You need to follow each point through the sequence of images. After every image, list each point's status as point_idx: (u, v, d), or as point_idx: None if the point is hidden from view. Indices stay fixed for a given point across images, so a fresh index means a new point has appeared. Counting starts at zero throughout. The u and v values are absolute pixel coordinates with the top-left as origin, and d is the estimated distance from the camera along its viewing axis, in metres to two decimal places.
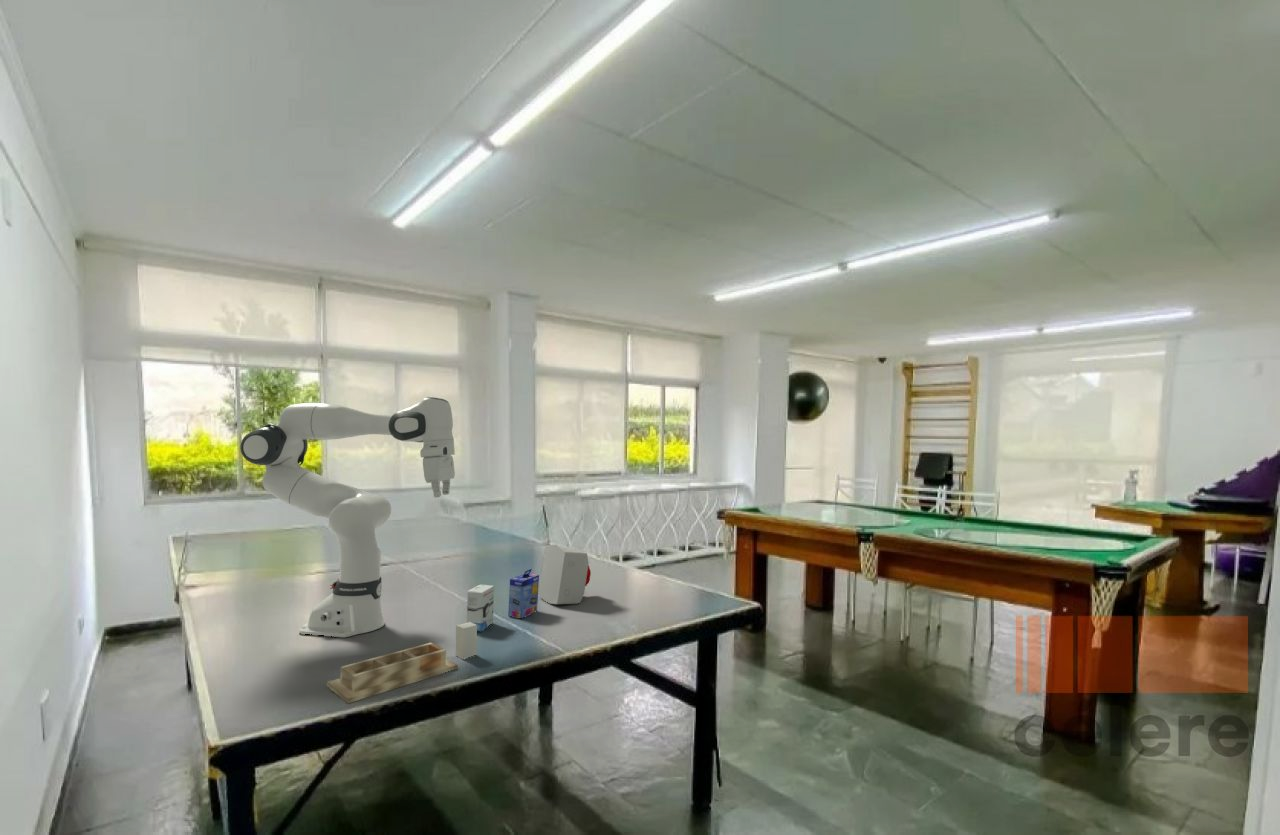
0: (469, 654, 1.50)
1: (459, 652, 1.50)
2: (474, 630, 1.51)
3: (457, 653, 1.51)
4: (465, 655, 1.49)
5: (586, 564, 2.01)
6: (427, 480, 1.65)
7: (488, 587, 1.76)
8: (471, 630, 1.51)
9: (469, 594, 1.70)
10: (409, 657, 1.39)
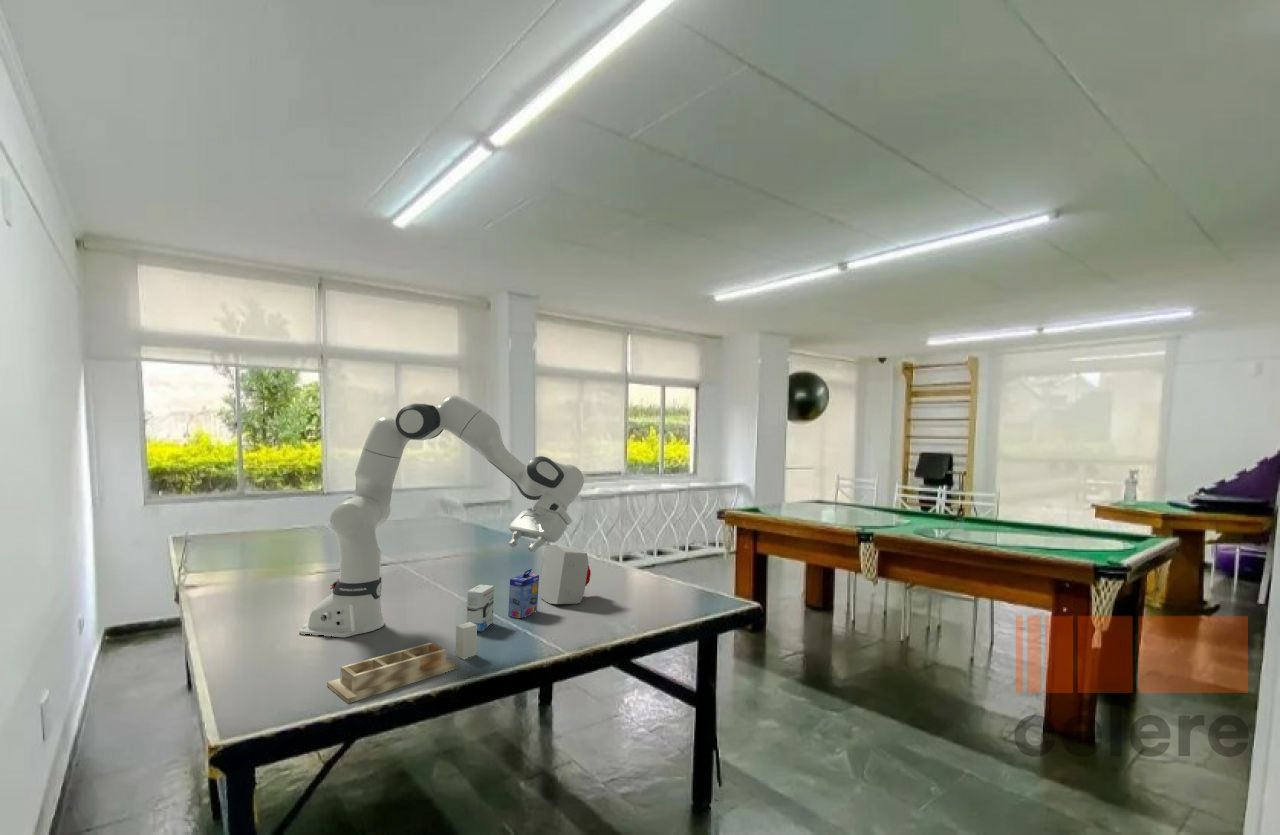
0: (469, 654, 1.50)
1: (459, 652, 1.50)
2: (474, 630, 1.51)
3: (457, 653, 1.51)
4: (465, 655, 1.49)
5: (586, 564, 2.01)
6: (551, 535, 1.62)
7: (488, 587, 1.76)
8: (471, 630, 1.51)
9: (469, 594, 1.70)
10: (409, 657, 1.39)
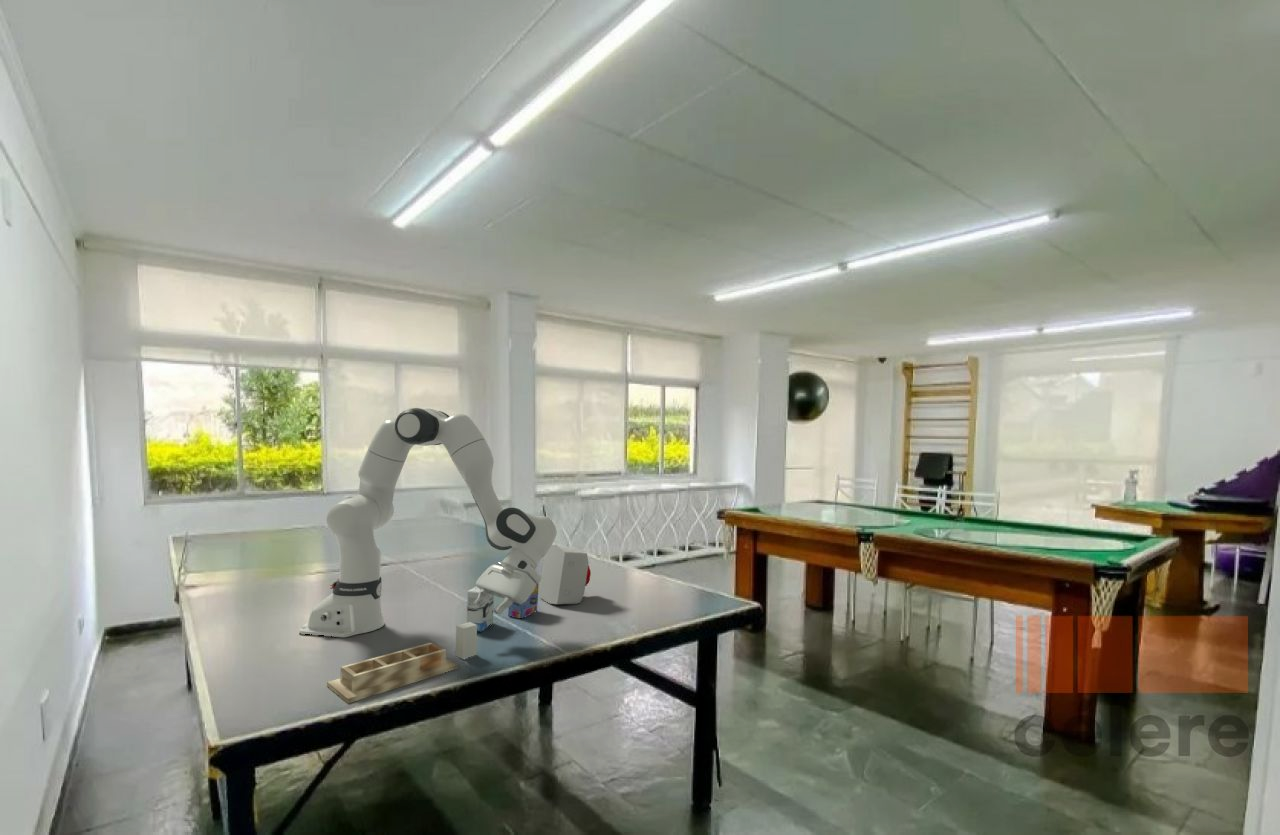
0: (469, 654, 1.50)
1: (459, 652, 1.50)
2: (474, 630, 1.51)
3: (457, 653, 1.51)
4: (465, 655, 1.49)
5: (586, 564, 2.01)
6: (518, 597, 1.52)
7: None
8: (471, 630, 1.51)
9: (469, 594, 1.70)
10: (409, 657, 1.39)
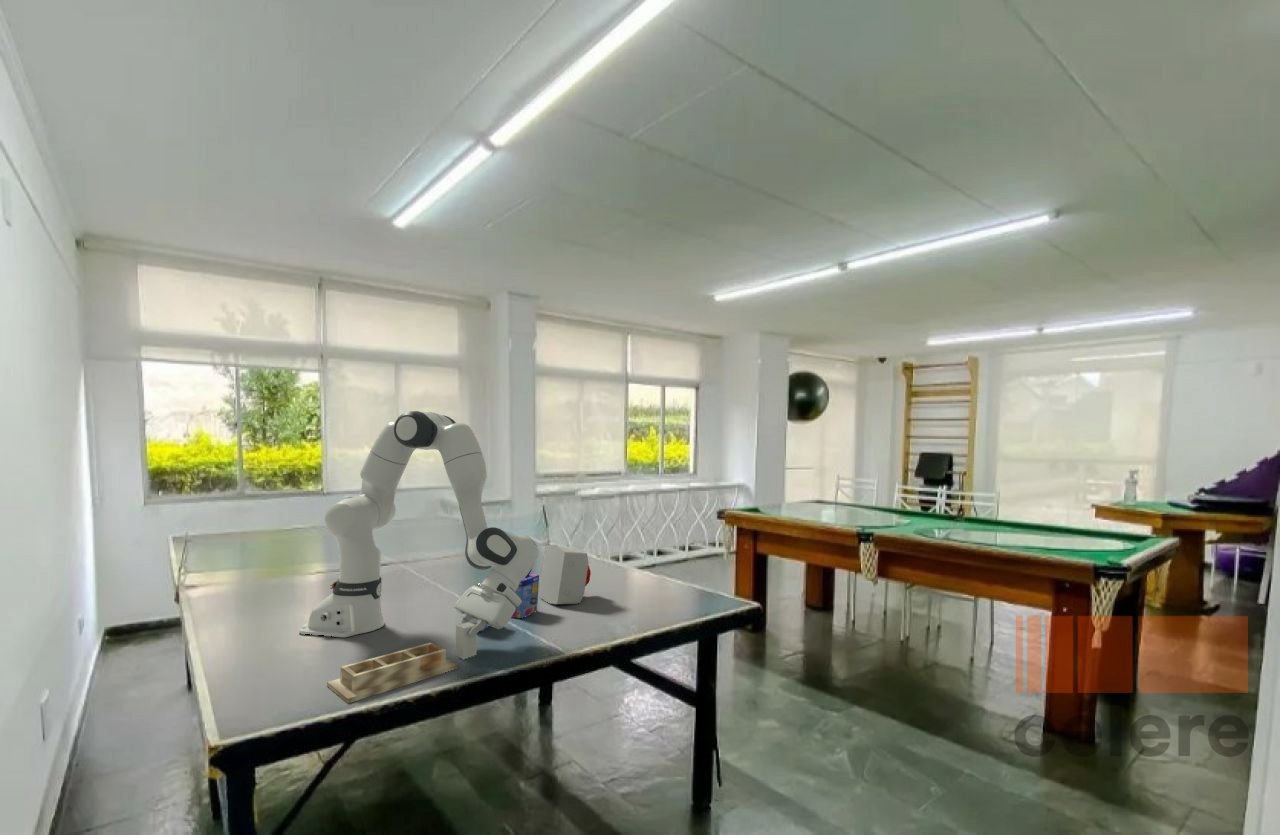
0: (469, 654, 1.50)
1: (459, 652, 1.50)
2: None
3: (457, 653, 1.51)
4: (465, 655, 1.49)
5: (586, 564, 2.01)
6: (496, 622, 1.47)
7: None
8: None
9: None
10: (409, 657, 1.39)
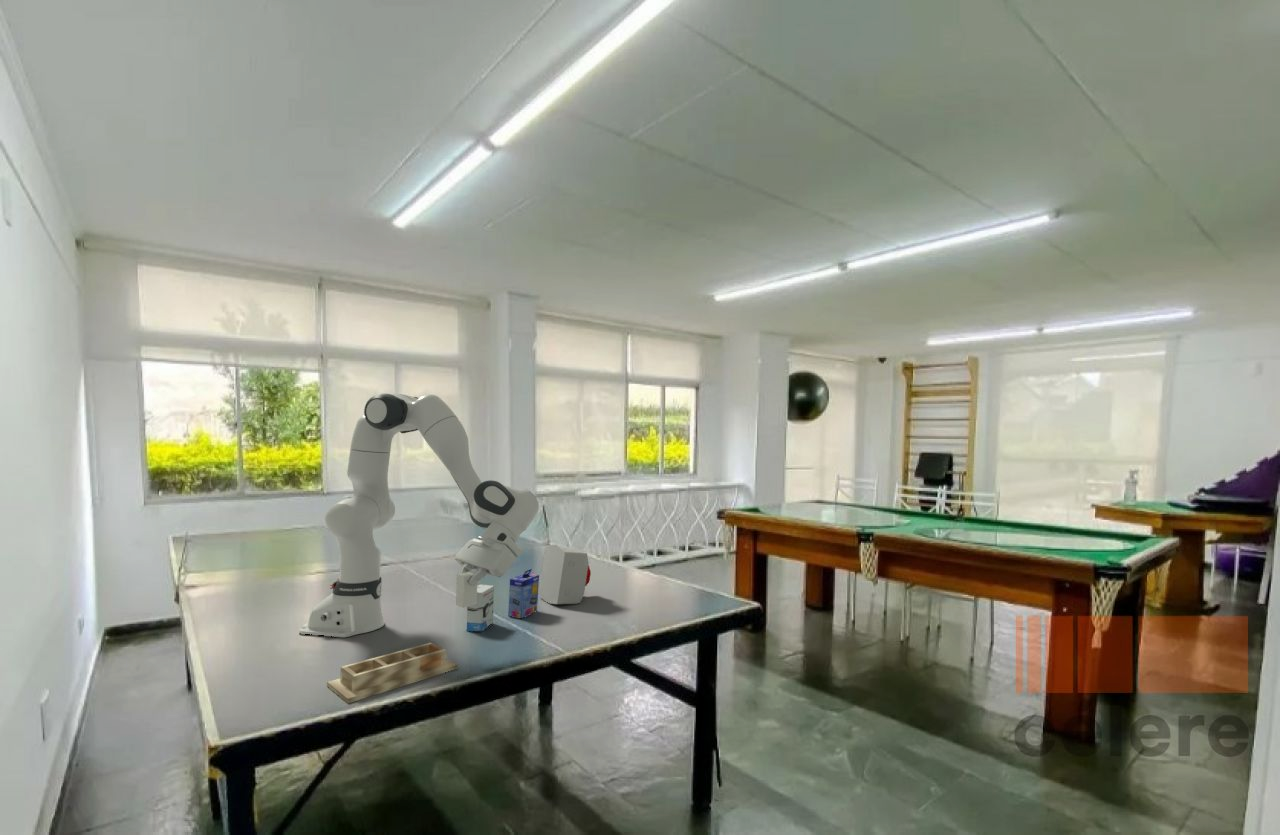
0: (469, 602, 1.51)
1: (460, 600, 1.50)
2: None
3: (458, 601, 1.51)
4: (465, 603, 1.50)
5: (586, 564, 2.01)
6: (496, 569, 1.47)
7: (488, 587, 1.76)
8: None
9: None
10: (409, 657, 1.39)
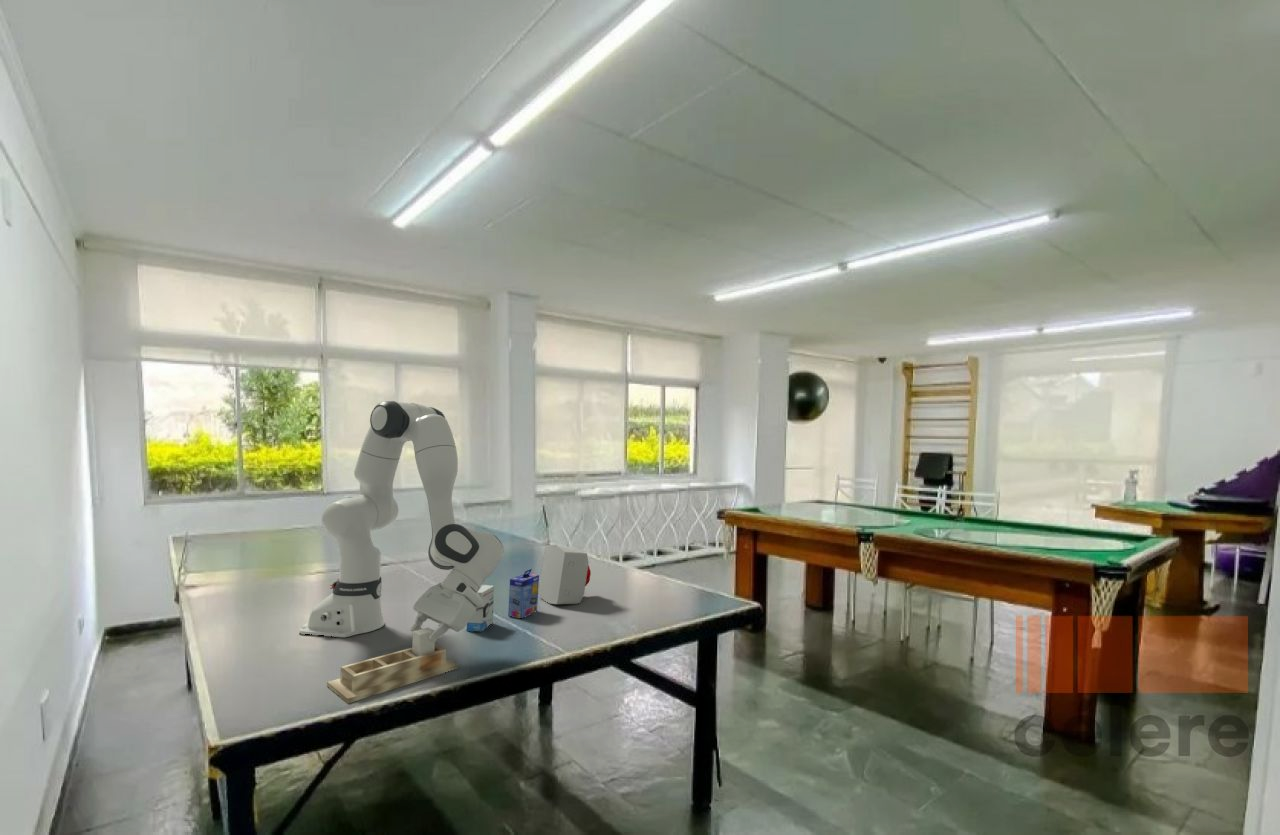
0: None
1: None
2: None
3: None
4: None
5: (586, 564, 2.01)
6: (454, 624, 1.38)
7: (488, 587, 1.76)
8: None
9: None
10: (409, 657, 1.39)
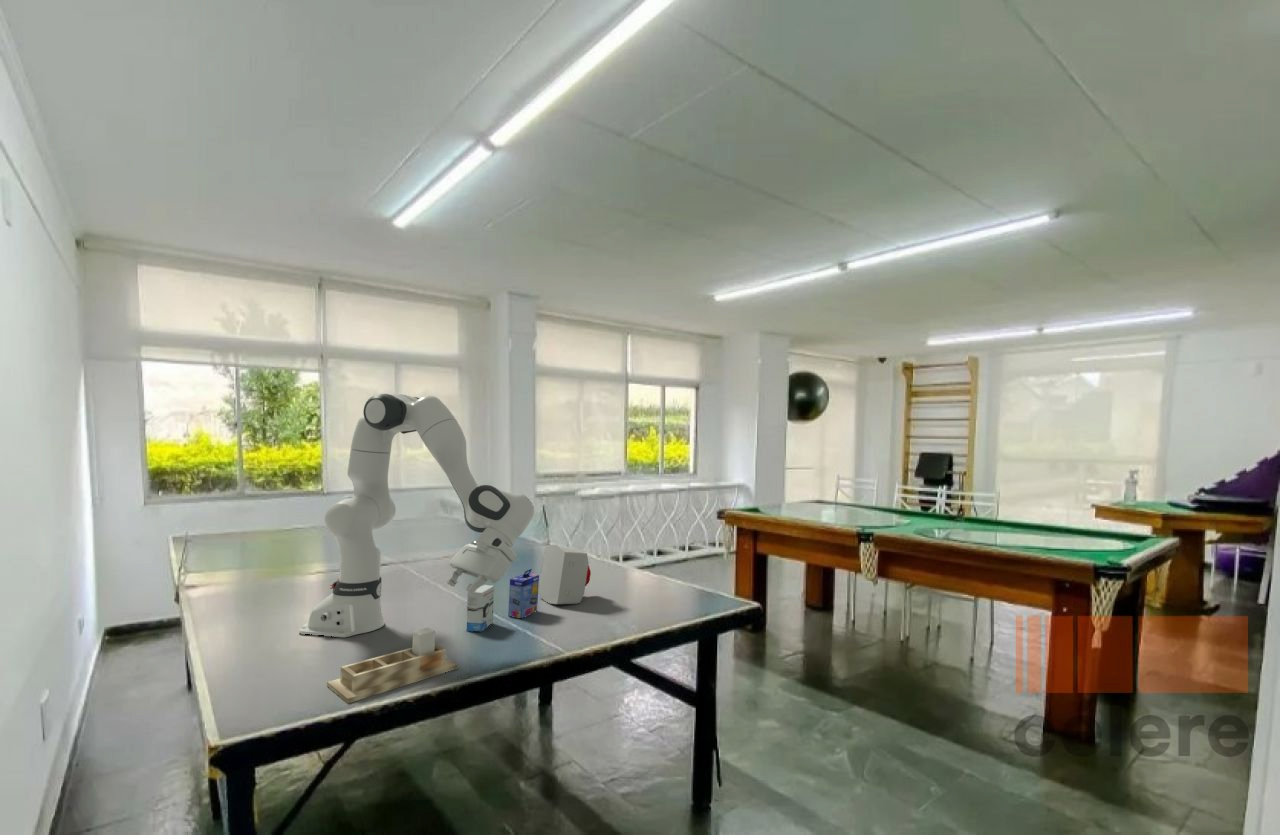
0: None
1: None
2: (432, 636, 1.43)
3: None
4: None
5: (586, 564, 2.01)
6: (491, 575, 1.46)
7: (488, 587, 1.76)
8: (428, 636, 1.42)
9: (469, 594, 1.70)
10: (409, 657, 1.39)
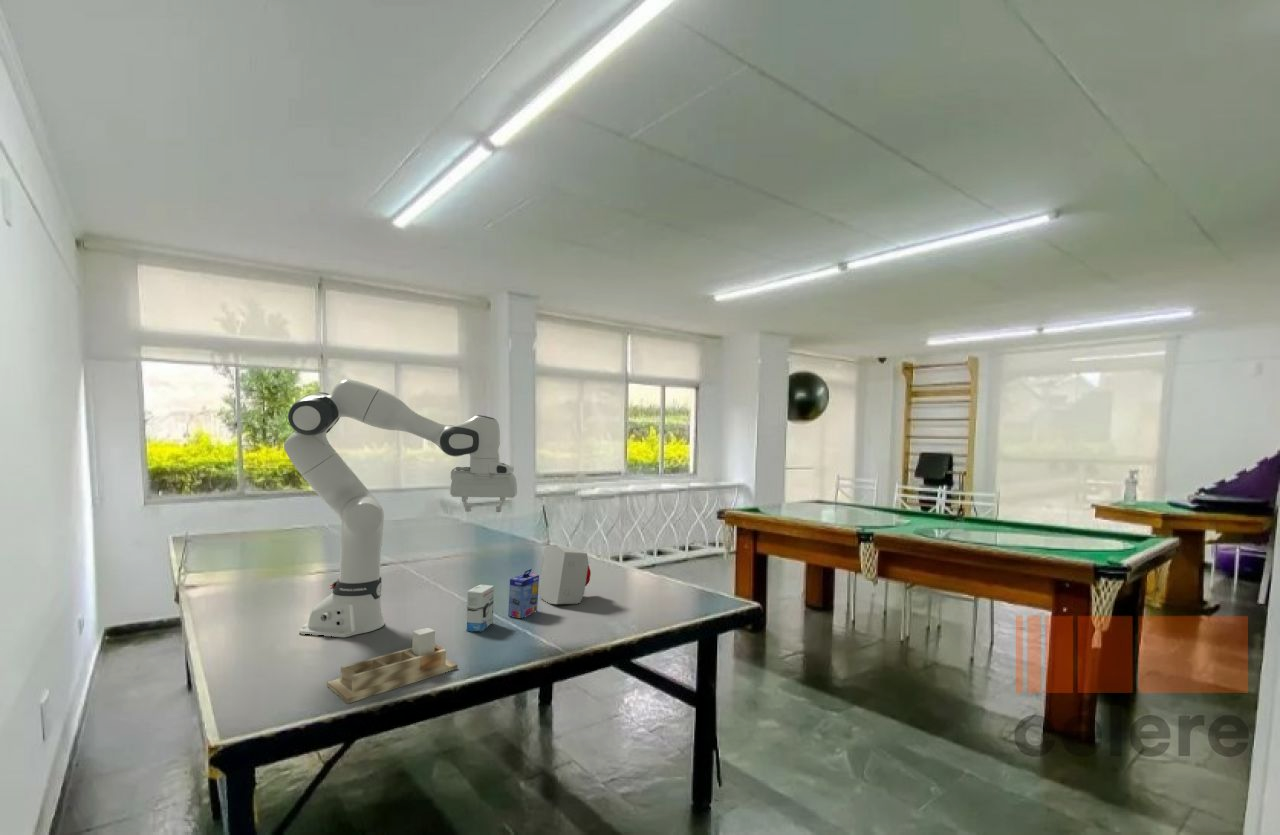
0: None
1: None
2: (432, 636, 1.43)
3: None
4: None
5: (586, 564, 2.01)
6: (515, 495, 1.80)
7: (488, 587, 1.76)
8: (428, 636, 1.42)
9: (469, 594, 1.70)
10: (409, 657, 1.39)
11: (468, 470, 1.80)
